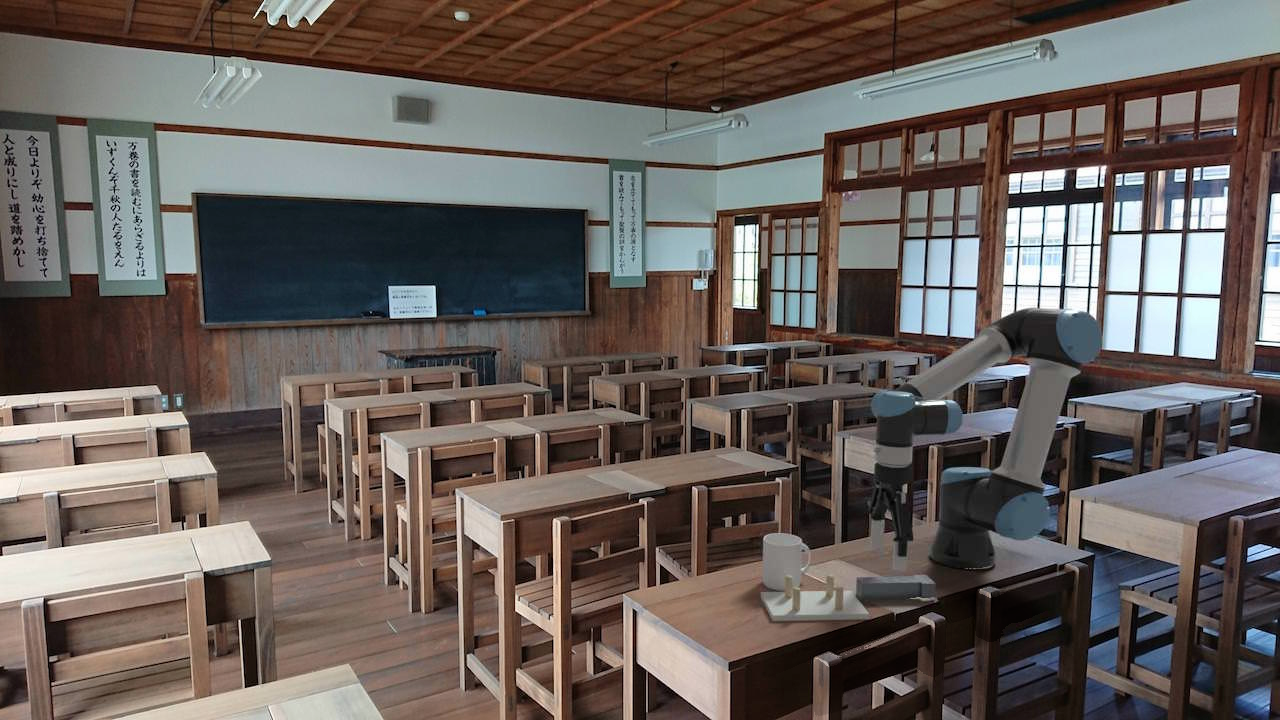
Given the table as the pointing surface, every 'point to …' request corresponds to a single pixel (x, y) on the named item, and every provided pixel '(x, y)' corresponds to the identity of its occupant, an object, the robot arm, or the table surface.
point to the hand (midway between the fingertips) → (887, 559)
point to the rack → (813, 603)
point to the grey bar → (894, 588)
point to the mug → (783, 560)
